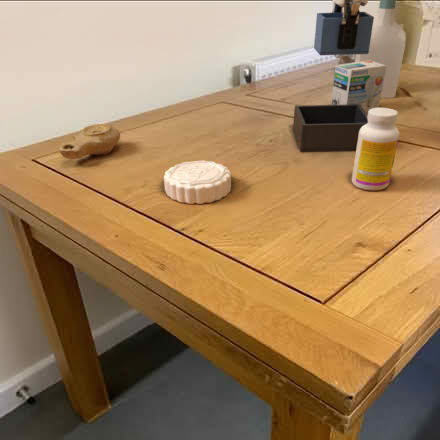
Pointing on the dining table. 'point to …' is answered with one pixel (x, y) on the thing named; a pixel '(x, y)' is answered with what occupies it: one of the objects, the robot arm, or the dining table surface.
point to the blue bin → (330, 28)
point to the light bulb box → (358, 84)
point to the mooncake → (197, 182)
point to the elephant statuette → (345, 59)
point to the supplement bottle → (376, 150)
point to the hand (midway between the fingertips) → (341, 44)
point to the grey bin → (328, 127)
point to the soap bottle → (386, 46)
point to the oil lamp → (91, 141)
